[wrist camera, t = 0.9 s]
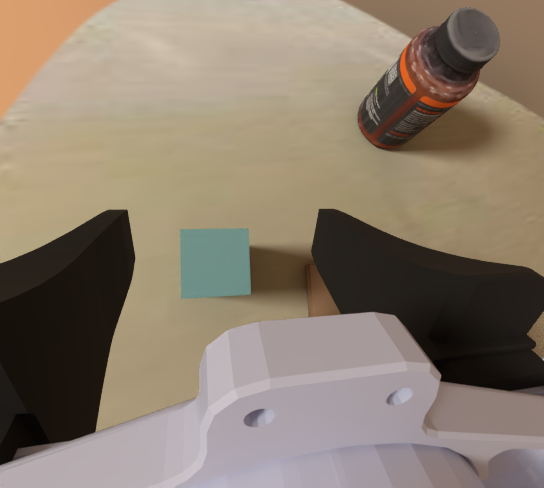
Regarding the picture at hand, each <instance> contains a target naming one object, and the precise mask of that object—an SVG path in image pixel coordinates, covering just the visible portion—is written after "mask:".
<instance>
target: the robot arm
mask: <svg viewBox="0 0 544 488" xmlns="http://www.w3.org/2000/svg"><path fill="white" fill-rule="evenodd" d="M311 252H312V255H313V259H314V262H315V265H316V267H317V270H318V272H319V274H320V276H321V278H322V280H323V282H324V284H325V286H326V288H327V289H328V291H329V293H330V295H331V297H332V299H333V301H334V302H335V304H336V306H337V308H338V310H339V312H340V314H341V315H331V316H319V317H307V318H295V319H283V320H271V321H259V322H253V323H250V324H246V325H242V326H239V327H235V328H231V329H229V330H227V331H226V332H225V333H223V334H222V335H221V336H219V337H218V338H217V339H216V340H214V341H213V342H212V343H210V344H209V345H208V346H207V347H206V349H205V352H204V355H203V357H202V360H201V363H200V366H199V395H198V396H197V397H195V398H193V399H190V400H187V401H184V402H181V403H178V404H175V405H172V406H170V407H167V408H164V409H161V410H158V411H155V412H152V413H149V414H146V415H144V416H141V417H138V418H135V419H132V420H129V421H126V422H123V423H121V424H118V425H115V426H112V427H109V428H106V429H103V430H100V431H98V432H95V430H96V424H97V418H98V412H99V406H100V400H101V394H102V388H103V383H104V377H105V372H106V367H107V362H108V357H109V352H110V347H111V343H112V339H113V335H114V332H115V328H116V325H117V322H118V319H119V317H120V314H121V311H122V308H123V305H124V302H125V299H126V296H127V293H128V290H129V287H130V284H131V281H132V275H133V270H134V263H135V253H134V247H133V241H132V235H131V229H130V223H129V217H128V211H127V210H107V211H105V212H103V213H101V214H99V215H97V216H96V217H94V218H92V219H90V220H89V221H87V222H85V223H84V224H82V225H80V226H79V227H77V228H75V229H74V230H72V231H70V232H68V233H67V234H65V235H63V236H61V237H59V238H57V239H55V240H53V241H52V242H50V243H48V244H46V245H44V246H42V247H40V248H38V249H35V250H33V251H31V252H29V253H26V254H24V255H21V256H19V257H17V258H14V259H12V260H9V261H6V262H3V263H1V264H0V488H544V357H542V358H540V357H539V356H538V355H537V354H536V353H535V352H533V351H532V350H531V349H534V348H535V346H536V343H535V341H533V340H532V339H531V338H530V337H529V336H528V335H527V333H528V332H529V330H530V329H531V327H532V326H533V325H534V323H535V322H536V321H537V319H538V318H539V316H540V315H541V314H542V312H543V311H544V277H543V276H541V275H540V274H538V273H537V272H535V271H534V270H532V269H530V268H527V267H523V266H515V265H508V264H500V263H493V262H486V261H480V260H475V259H470V258H465V257H460V256H456V255H451V254H447V253H444V252H440V251H436V250H432V249H429V248H426V247H422V246H419V245H417V244H414V243H411V242H408V241H405V240H402V239H400V238H397V237H395V236H393V235H390V234H388V233H386V232H383V231H381V230H379V229H377V228H375V227H373V226H370V225H368V224H366V223H364V222H362V221H360V220H358V219H356V218H354V217H352V216H350V215H348V214H346V213H344V212H341V211H339V210H336V209H319V213H318V218H317V223H316V229H315V234H314V240H313V245H312V250H311Z"/></svg>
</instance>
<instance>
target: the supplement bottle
mask: <svg viewBox="0 0 544 488" xmlns="http://www.w3.org/2000/svg"><path fill="white" fill-rule="evenodd" d="M499 45H500V37H499V32H498V29H497V27H496V25H495V24H494V22H493V21H492V20H491V18H490V17H489V16H487V15H486V14H485V13H484V12H482V11H480V10H478V9H475V8H471V7H465V8H460V9H458V10H456V11H454V12H453V13H452V14H451V15H450V16H449V18H448V19H447V20H446V21H445V22H444V23H443V24H442V25H441V26H434V27H431V28H428V29H425V30H423V31H421V32H420V33H419V34H418V35H416V36H415V37H414V38H413V39H412V41H411V42H410V43H409V44H408V45H407V46H406V48H405V49H404V50H403V51H402V53H401V54H400V55H399V57H398V58H397V59H396V60H395V62H394V63H393V64H392V65H391V67H390V68H389V69H388V70H387V71H386V73H385V74H384V75H383V76H382V78H381V79H380V80H379V81H378V83H377V84H376V85H375V86H374V88H373V89H372V90H371V91H370V93H369V94H368V95H367V96H366V97H365V99H364V101H363V102H362V103H361V105H360V107H359V111H358V123H359V127H360V130H361V132H362V133H363V135H364V136H365V137H366V138H367V139H368V140H369V141H370V142H371V143H372V144H374V145H376V146H378V147H381V148H387V149H391V148H396V147H399V146H401V145H402V144H404V143H406V142H407V141H409V140H410V139H411V138H413V137H414V136H415V135H416V134H418V133H419V132H420V131H422V130H423V129H424V128H425V127H427V126H428V125H430V124H431V123H432V122H434V121H435V120H436V119H437V118H439V117H440V116H441V115H443V114H444V113H445V112H447V111H448V110H449V109H451V108H452V107H453V106H455V105H456V104H457V103H458V102H460V101H461V100H462V99H463V98H465V97H466V96H467V95H468V94H469V93H470V92H471V91H472V90H473V88H474V87H475V85H476V83H477V81H478V78H479V73H480V69H481V68H482V67H483V66H484V65H485V64H486V63H487V62H488V61H490V60H491V59H492V58H493V57H494V56H495V54H497V52H498V49H499Z"/></svg>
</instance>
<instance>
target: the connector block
mask: <svg viewBox="0 0 544 488" xmlns="http://www.w3.org/2000/svg"><path fill="white" fill-rule="evenodd" d="M180 238H181V299H184V298H202V297H219V296H237V295H251V280H250V256H249V231H248V228H245V229H180Z"/></svg>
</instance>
